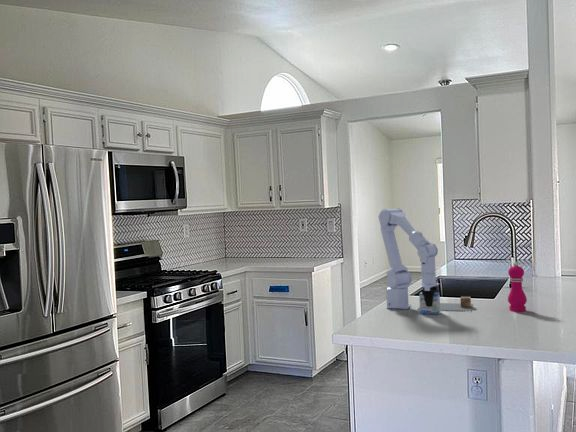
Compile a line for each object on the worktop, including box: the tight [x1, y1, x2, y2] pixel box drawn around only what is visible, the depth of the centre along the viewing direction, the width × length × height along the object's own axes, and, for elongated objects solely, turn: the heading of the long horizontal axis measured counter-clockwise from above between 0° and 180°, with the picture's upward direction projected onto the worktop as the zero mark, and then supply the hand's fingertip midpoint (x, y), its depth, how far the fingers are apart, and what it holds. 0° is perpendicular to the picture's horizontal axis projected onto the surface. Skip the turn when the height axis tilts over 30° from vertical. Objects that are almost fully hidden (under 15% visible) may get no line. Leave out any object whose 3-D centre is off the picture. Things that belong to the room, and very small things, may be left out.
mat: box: [416, 302, 473, 312], centre depth 232 cm, size 22×15×1 cm
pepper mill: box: [507, 261, 528, 313], centre depth 219 cm, size 7×7×20 cm
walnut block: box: [460, 296, 472, 308], centre depth 230 cm, size 4×4×4 cm
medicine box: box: [418, 292, 441, 315], centre depth 221 cm, size 8×4×9 cm, turn 68°
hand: (429, 305), depth 221 cm, fingers closed on medicine box, 4 cm apart
